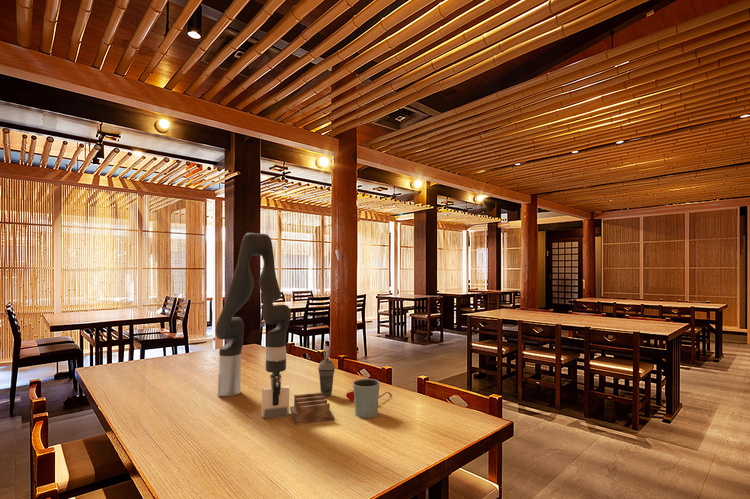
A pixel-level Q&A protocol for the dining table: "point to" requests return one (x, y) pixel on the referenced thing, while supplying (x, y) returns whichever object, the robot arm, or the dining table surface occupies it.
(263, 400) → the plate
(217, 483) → the dining table surface
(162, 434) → the dining table surface
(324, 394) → the beverage cup
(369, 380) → the grey green cup
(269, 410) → the plate stand
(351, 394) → the glasses
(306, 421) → the dish rack
